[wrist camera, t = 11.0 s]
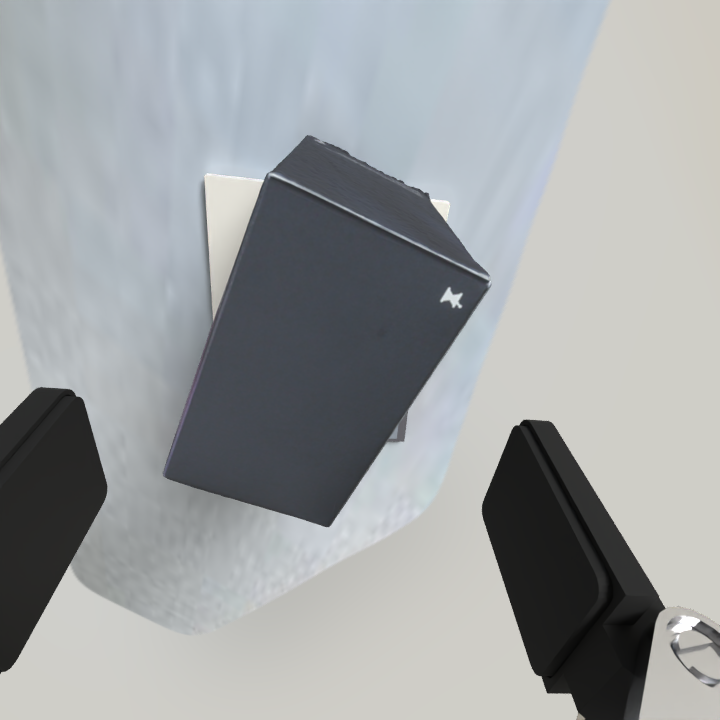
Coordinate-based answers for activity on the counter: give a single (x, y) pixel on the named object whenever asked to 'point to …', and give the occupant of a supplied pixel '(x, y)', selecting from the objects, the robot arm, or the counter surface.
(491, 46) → the counter surface
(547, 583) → the robot arm
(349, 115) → the counter surface
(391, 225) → the small box
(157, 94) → the counter surface
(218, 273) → the outlet plate
